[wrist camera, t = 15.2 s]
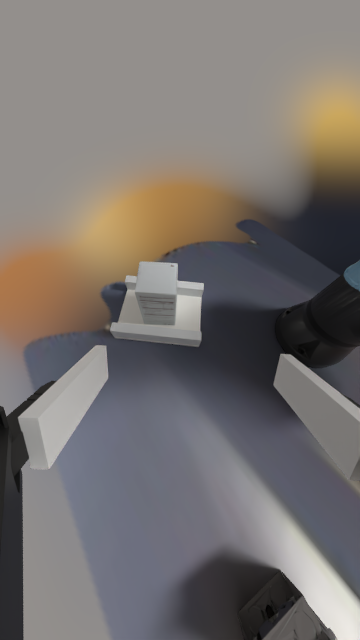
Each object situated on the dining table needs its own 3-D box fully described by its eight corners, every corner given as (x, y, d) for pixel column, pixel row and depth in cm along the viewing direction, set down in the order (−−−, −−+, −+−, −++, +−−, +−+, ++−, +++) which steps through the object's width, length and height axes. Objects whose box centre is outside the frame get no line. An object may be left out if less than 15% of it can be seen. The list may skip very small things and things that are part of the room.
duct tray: (201, 293, 47) (203, 283, 44) (198, 346, 40) (201, 340, 37) (130, 285, 47) (126, 275, 44) (115, 338, 40) (109, 330, 37)
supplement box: (147, 298, 44) (139, 259, 33) (176, 300, 45) (179, 262, 33) (143, 325, 41) (133, 291, 30) (175, 326, 41) (177, 294, 30)
